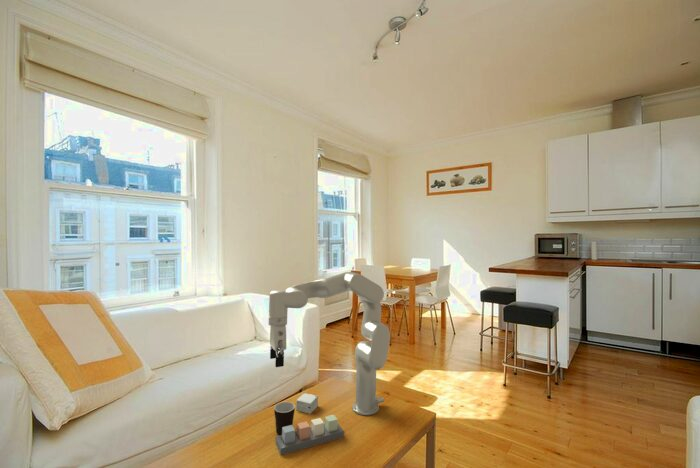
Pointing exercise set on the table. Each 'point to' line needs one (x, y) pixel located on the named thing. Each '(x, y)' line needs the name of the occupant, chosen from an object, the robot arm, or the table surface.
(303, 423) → the key terracotta
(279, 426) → the coffee mug
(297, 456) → the table surface
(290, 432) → the key slate
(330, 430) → the key sage
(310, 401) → the small box
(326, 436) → the keypad
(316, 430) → the key cream
